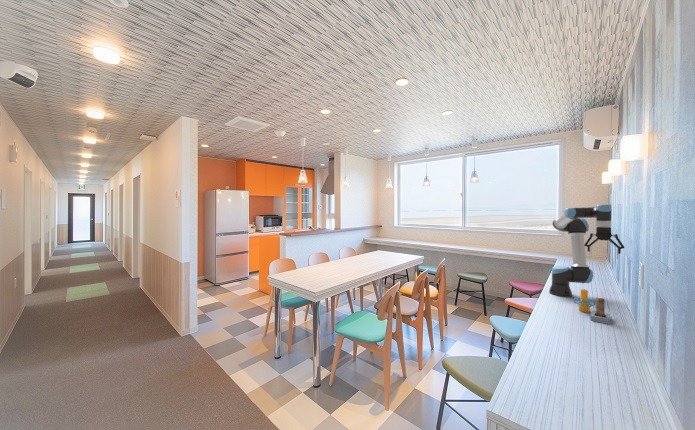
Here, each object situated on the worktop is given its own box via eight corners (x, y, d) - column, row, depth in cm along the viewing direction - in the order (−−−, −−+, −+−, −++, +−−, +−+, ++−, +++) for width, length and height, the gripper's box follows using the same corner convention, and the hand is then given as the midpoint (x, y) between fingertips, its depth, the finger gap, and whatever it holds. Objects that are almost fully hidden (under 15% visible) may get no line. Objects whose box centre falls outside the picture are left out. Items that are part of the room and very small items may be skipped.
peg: (596, 318, 181) (596, 297, 181) (604, 319, 178) (604, 298, 178) (596, 320, 178) (595, 298, 178) (604, 321, 176) (604, 300, 175)
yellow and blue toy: (599, 314, 188) (599, 292, 187) (584, 314, 188) (584, 292, 188) (584, 307, 200) (584, 287, 200) (570, 307, 200) (569, 287, 200)
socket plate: (592, 314, 186) (592, 310, 186) (610, 318, 180) (610, 314, 180) (590, 320, 178) (590, 315, 178) (609, 324, 172) (609, 319, 172)
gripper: (579, 226, 195) (579, 256, 196) (629, 227, 177) (629, 260, 178) (580, 225, 200) (580, 254, 201) (629, 227, 182) (629, 258, 183)
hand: (603, 257), depth 189 cm, fingers open, 13 cm apart
